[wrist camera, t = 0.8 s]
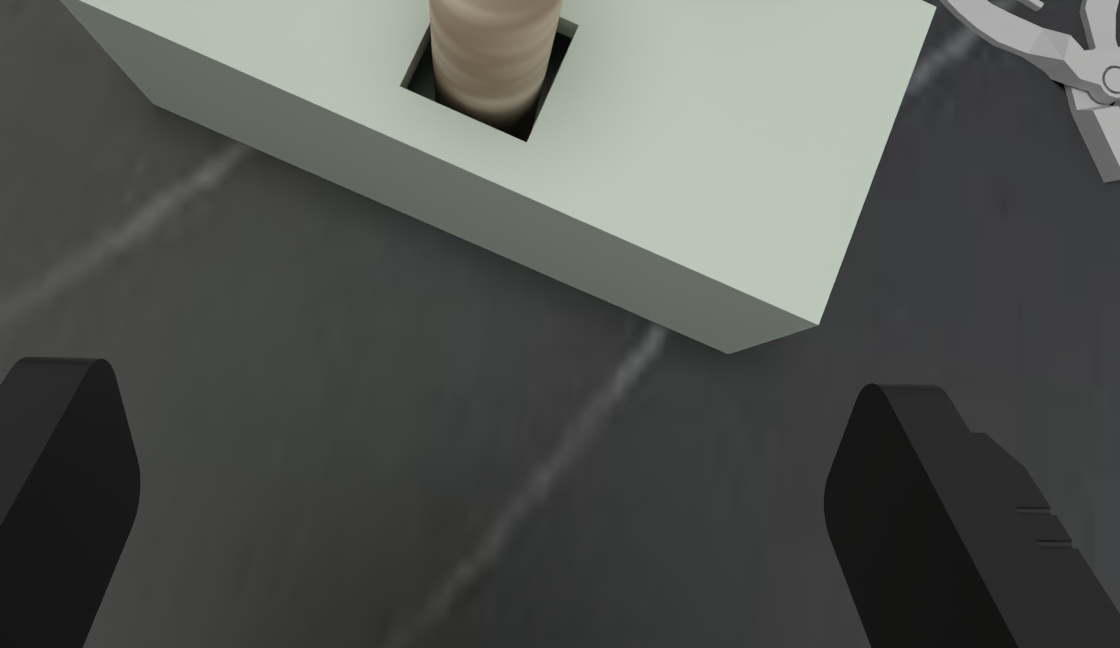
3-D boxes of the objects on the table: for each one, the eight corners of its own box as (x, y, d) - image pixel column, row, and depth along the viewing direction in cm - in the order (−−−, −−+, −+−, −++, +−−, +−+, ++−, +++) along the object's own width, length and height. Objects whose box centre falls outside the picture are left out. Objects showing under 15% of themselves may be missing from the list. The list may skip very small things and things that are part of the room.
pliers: (1084, -191, 39) (1253, 115, 38) (1060, -167, 41) (1222, 128, 40) (893, -112, 38) (1063, 208, 37) (876, -90, 39) (1039, 218, 38)
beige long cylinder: (405, 170, 34) (343, -160, 15) (452, 69, 35) (447, -364, 16) (513, 218, 34) (581, -52, 16) (557, 116, 35) (674, -258, 16)
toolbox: (152, 104, 34) (-8, -76, 22) (279, -137, 36) (192, -422, 24) (728, 354, 36) (865, 310, 24) (822, 110, 37) (994, -46, 25)
